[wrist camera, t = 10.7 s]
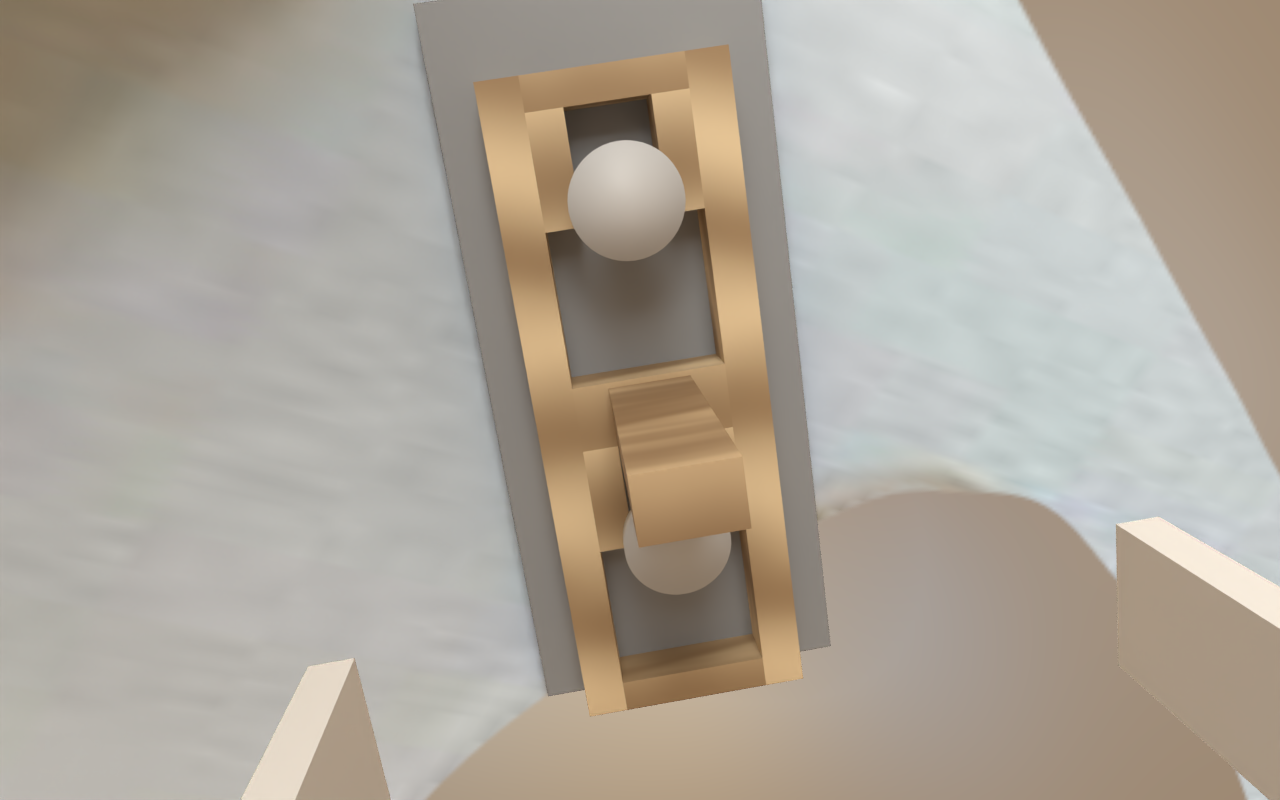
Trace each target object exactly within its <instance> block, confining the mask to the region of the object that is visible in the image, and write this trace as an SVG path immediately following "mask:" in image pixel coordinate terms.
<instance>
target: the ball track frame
mask: <svg viewBox="0 0 1280 800" xmlns="http://www.w3.org/2000/svg"><path fill="white" fill-rule="evenodd" d="M473 84H474V89H475V95H476V100H477V106H478V111H479V117H480V122H481V127H482V133H483V138H484V144H485V149H486V155H487V160H488V165H489V171H490V176H491V182H492V187H493V193H494V198H495V204H496V209H497V214H498V220H499V225H500V231H501V236H502V242H503V247H504V252H505V258H506V263H507V269H508V274H509V280H510V285H511V291H512V296H513V301H514V307H515V312H516V318H517V323H518V329H519V334H520V339H521V345H522V350H523V356H524V361H525V367H526V372H527V378H528V383H529V388H530V394H531V399H532V405H533V410H534V416H535V421H536V426H537V432H538V437H539V443H540V448H541V454H542V459H543V464H544V470H545V475H546V481H547V486H548V492H549V497H550V503H551V508H552V513H553V519H554V524H555V530H556V535H557V541H558V546H559V551H560V557H561V562H562V568H563V573H564V579H565V584H566V590H567V595H568V600H569V606H570V611H571V617H572V622H573V628H574V633H575V638H576V644H577V649H578V655H579V660H580V666H581V671H582V676H583V682H584V687H585V693H586V698H587V703H588V709H589V715H590V716H596V715H601V714H606V713H612V712H618V711H623V710H629V709H634V708H640V707H646V706H652V705H657V704H662V703H668V702H674V701H679V700H685V699H691V698H696V697H701V696H707V695H713V694H718V693H724V692H729V691H735V690H741V689H746V688H751V687H757V686H763V685H769V684H774V683H779V682H785V681H791V680H796V679H802V678H803V675H802V666H801V657H800V649H799V640H798V632H797V623H796V615H795V606H794V598H793V589H792V581H791V572H790V564H789V555H788V546H787V538H786V529H785V521H784V512H783V504H782V495H781V487H780V478H779V470H778V461H777V453H776V444H775V436H774V427H773V418H772V410H771V401H770V393H769V384H768V376H767V367H766V359H765V350H764V342H763V333H762V325H761V316H760V307H759V299H758V290H757V282H756V273H755V265H754V256H753V248H752V239H751V231H750V222H749V214H748V205H747V197H746V188H745V179H744V171H743V162H742V154H741V145H740V137H739V128H738V120H737V111H736V103H735V94H734V86H733V77H732V69H731V60H730V51H729V44H727V45H720V46H714V47H707V48H700V49H693V50H687V51H680V52H673V53H666V54H660V55H653V56H646V57H639V58H633V59H626V60H619V61H613V62H606V63H599V64H592V65H586V66H579V67H572V68H565V69H559V70H552V71H545V72H538V73H532V74H525V75H518V76H511V77H505V78H498V79H491V80H485V81H478V82H473ZM643 99H646V101H647V108H648V116H649V123H650V130H651V137H652V144H653V147H655V148H656V149H658V150H659V151H661V152H662V153H663V154H665V155H666V156H667V157H668V158H669V159H670V160H671V162H672V163H673V164H674V166H675V167H676V169H677V170H678V172H679V174H680V176H681V179H682V182H683V185H684V190H685V198H686V203H685V211H690V210H696V209H697V213H698V220H699V228H700V236H701V243H702V251H703V259H704V266H705V274H706V282H707V289H708V297H709V304H710V312H711V320H712V327H713V335H714V343H715V350H716V354H711V355H705V356H699V357H693V358H687V359H681V360H675V361H668V362H662V363H656V364H650V365H644V366H638V367H632V368H626V369H619V370H613V371H607V372H601V373H595V374H589V375H583V376H576V377H572V376H571V370H570V365H569V359H568V353H567V347H566V341H565V335H564V330H563V324H562V318H561V312H560V306H559V300H558V295H557V289H556V283H555V277H554V271H553V266H552V260H551V254H550V248H549V242H548V236H547V233H549V232H555V231H561V230H568V229H574V227H573V225H572V222H571V219H570V215H569V211H568V189H569V185H570V181H571V178H572V176H573V174H574V171H573V165H572V159H571V153H570V147H569V141H568V134H567V128H566V122H565V116H564V111H570V110H576V109H583V108H590V107H596V106H603V105H609V104H616V103H623V102H629V101H636V100H643ZM618 448H619V449H618ZM619 453H620V456H619ZM620 458H621V462H620ZM621 463H622V468H623V472H624V477H625V482H626V487H627V492H628V497H629V502H630V507H631V512H632V517H633V522H634V527H635V532H636V537H637V542H638V547H639V548H641V547H647V546H652V545H658V544H664V543H670V542H676V541H682V540H687V539H693V538H699V537H705V536H711V535H717V534H722V533H728V532H734V531H739V534H740V542H741V549H742V557H743V565H744V572H745V580H746V588H747V595H748V603H749V611H750V618H751V626H752V633H753V634H748V635H742V636H737V637H731V638H725V639H720V640H714V641H708V642H703V643H697V644H691V645H686V646H680V647H674V648H669V649H663V650H657V651H652V652H646V653H640V654H635V655H629V656H623V657H620V656H619V650H618V644H617V638H616V633H615V627H614V621H613V615H612V609H611V603H610V598H609V592H608V586H607V580H606V574H605V568H604V563H603V557H602V552H604V551H609V550H615V549H621V548H624V545H623V527H624V523H625V520H626V517H627V515H628V513H629V511H628V505H627V499H626V493H625V486H624V480H623V474H622V468H621Z"/></svg>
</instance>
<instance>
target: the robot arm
mask: <svg viewBox="0 0 1280 800" xmlns="http://www.w3.org/2000/svg"><path fill="white" fill-rule="evenodd" d="M1116 553H1117V614H1118V615H1117V616H1118V617H1117V620H1118V666H1120V667H1121V668H1122V669H1123V670H1124V671H1125V672H1126V673H1127V674H1128V675H1130V676H1131V677H1132V678H1133V679H1134V680H1135V681H1136V682H1138V683H1139V684H1140V685H1141V686H1142V687H1143V688H1144V689H1145V690H1146V691H1148V692H1149V693H1150V694H1151V695H1152V696H1153V697H1154V698H1155V699H1157V700H1158V701H1159V702H1160V703H1161V704H1162V705H1163V706H1164V707H1166V708H1167V709H1168V710H1169V711H1170V712H1171V713H1172V714H1173V715H1175V716H1176V717H1177V718H1178V719H1179V720H1180V721H1181V722H1182V723H1184V724H1185V725H1186V726H1187V727H1188V728H1189V729H1190V730H1192V731H1193V732H1194V733H1195V734H1196V735H1197V736H1198V737H1199V738H1201V739H1202V740H1203V741H1204V742H1205V743H1206V744H1207V745H1208V746H1209V747H1211V748H1212V749H1213V750H1214V751H1215V752H1216V753H1217V754H1219V755H1220V756H1221V757H1222V758H1223V759H1224V760H1225V761H1226V762H1227V763H1229V764H1230V765H1231V766H1232V767H1233V768H1234V769H1235V770H1236V771H1238V772H1239V773H1240V774H1241V775H1242V776H1243V777H1244V778H1245V779H1247V780H1248V781H1249V782H1250V783H1251V784H1252V785H1253V786H1254V787H1256V788H1257V789H1258V790H1259V791H1260V792H1261V793H1262V794H1263V795H1265V796H1266V797H1267V798H1268V799H1269V800H1280V587H1279V586H1277V585H1275V584H1274V583H1272V582H1270V581H1269V580H1267V579H1265V578H1263V577H1262V576H1260V575H1258V574H1256V573H1255V572H1253V571H1251V570H1250V569H1248V568H1246V567H1244V566H1243V565H1241V564H1239V563H1238V562H1236V561H1234V560H1232V559H1231V558H1229V557H1227V556H1225V555H1224V554H1222V553H1220V552H1219V551H1217V550H1215V549H1213V548H1212V547H1210V546H1208V545H1206V544H1205V543H1203V542H1201V541H1200V540H1198V539H1196V538H1194V537H1193V536H1191V535H1189V534H1188V533H1186V532H1184V531H1182V530H1181V529H1179V528H1177V527H1175V526H1174V525H1172V524H1170V523H1169V522H1167V521H1165V520H1163V519H1162V518H1160V517H1155V518H1149V519H1143V520H1138V521H1132V522H1126V523H1121V524H1116ZM241 800H390V795H389V791H388V787H387V783H386V779H385V776H384V772H383V768H382V764H381V760H380V756H379V752H378V748H377V744H376V740H375V736H374V732H373V729H372V725H371V721H370V717H369V713H368V709H367V705H366V701H365V697H364V693H363V689H362V685H361V682H360V678H359V674H358V670H357V666H356V662H355V658H353V659H347V660H341V661H336V662H330V663H324V664H318V665H313V666H308V668H307V670H306V672H305V674H304V676H303V678H302V680H301V682H300V684H299V686H298V688H297V690H296V691H295V693H294V695H293V697H292V699H291V701H290V703H289V705H288V707H287V709H286V711H285V713H284V715H283V717H282V719H281V721H280V723H279V725H278V727H277V729H276V731H275V733H274V735H273V737H272V739H271V741H270V743H269V745H268V747H267V749H266V751H265V753H264V755H263V757H262V759H261V761H260V763H259V765H258V767H257V769H256V771H255V772H254V774H253V776H252V778H251V780H250V782H249V784H248V786H247V788H246V790H245V792H244V794H243V796H242V798H241Z"/></svg>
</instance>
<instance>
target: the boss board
mask: <svg viewBox="0 0 1280 800" xmlns="http://www.w3.org/2000/svg"><path fill="white" fill-rule="evenodd" d="M413 6H414V11H415V16H416V21H417V26H418V31H419V36H420V42H421V47H422V52H423V57H424V62H425V67H426V72H427V77H428V83H429V88H430V93H431V98H432V103H433V108H434V113H435V118H436V124H437V129H438V134H439V139H440V144H441V149H442V154H443V159H444V164H445V170H446V175H447V180H448V185H449V190H450V195H451V200H452V205H453V211H454V216H455V221H456V226H457V231H458V236H459V241H460V246H461V252H462V257H463V262H464V267H465V272H466V277H467V282H468V287H469V293H470V298H471V303H472V308H473V313H474V318H475V323H476V328H477V333H478V339H479V344H480V349H481V354H482V359H483V364H484V369H485V374H486V380H487V385H488V390H489V395H490V400H491V405H492V410H493V415H494V421H495V426H496V431H497V436H498V441H499V446H500V451H501V456H502V462H503V467H504V472H505V477H506V482H507V487H508V492H509V497H510V502H511V508H512V513H513V518H514V523H515V528H516V533H517V538H518V543H519V549H520V554H521V559H522V564H523V569H524V574H525V579H526V584H527V590H528V595H529V600H530V605H531V610H532V615H533V620H534V625H535V630H536V636H537V641H538V646H539V651H540V656H541V661H542V666H543V671H544V677H545V682H546V687H547V692H548V696H552V695H558V694H564V693H569V692H575V691H581V690H585V687H584V682H583V676H582V671H581V666H580V660H579V655H578V649H577V644H576V638H575V633H574V628H573V622H572V617H571V611H570V606H569V600H568V595H567V590H566V584H565V579H564V573H563V568H562V562H561V557H560V551H559V546H558V541H557V535H556V530H555V524H554V519H553V513H552V508H551V503H550V497H549V492H548V486H547V481H546V475H545V470H544V464H543V459H542V454H541V448H540V443H539V437H538V432H537V426H536V421H535V416H534V410H533V405H532V399H531V394H530V388H529V383H528V378H527V372H526V367H525V361H524V356H523V350H522V345H521V339H520V334H519V329H518V323H517V318H516V312H515V307H514V301H513V296H512V291H511V285H510V280H509V274H508V269H507V263H506V258H505V252H504V247H503V242H502V236H501V231H500V225H499V220H498V214H497V209H496V204H495V198H494V193H493V187H492V182H491V176H490V171H489V165H488V160H487V155H486V149H485V144H484V138H483V133H482V127H481V122H480V117H479V111H478V106H477V100H476V95H475V89H474V84H473V82H478V81H485V80H491V79H498V78H505V77H511V76H518V75H525V74H532V73H538V72H545V71H552V70H559V69H565V68H572V67H579V66H586V65H592V64H599V63H606V62H613V61H619V60H626V59H633V58H639V57H646V56H653V55H660V54H666V53H673V52H680V51H687V50H693V49H700V48H707V47H714V46H720V45H727V44H729V51H730V60H731V69H732V77H733V86H734V94H735V103H736V111H737V120H738V128H739V137H740V145H741V154H742V162H743V171H744V179H745V188H746V197H747V205H748V214H749V222H750V231H751V239H752V248H753V256H754V265H755V273H756V282H757V290H758V299H759V307H760V316H761V325H762V333H763V342H764V350H765V359H766V367H767V376H768V384H769V393H770V401H771V410H772V418H773V427H774V436H775V444H776V453H777V461H778V470H779V478H780V487H781V495H782V504H783V512H784V521H785V529H786V538H787V546H788V555H789V564H790V572H791V581H792V589H793V598H794V606H795V615H796V623H797V632H798V640H799V649H800V651H806V650H811V649H816V648H822V647H828V646H831V644H830V636H829V626H828V617H827V608H826V598H825V589H824V580H823V570H822V561H821V551H820V542H819V533H818V523H817V514H816V505H815V496H814V486H813V477H812V468H811V458H810V449H809V440H808V430H807V421H806V412H805V403H804V393H803V384H802V375H801V365H800V356H799V347H798V337H797V328H796V319H795V310H794V300H793V291H792V282H791V272H790V263H789V254H788V244H787V235H786V226H785V217H784V207H783V198H782V189H781V179H780V170H779V161H778V151H777V142H776V133H775V124H774V114H773V105H772V96H771V86H770V77H769V68H768V58H767V49H766V40H765V31H764V21H763V12H762V3H761V0H438V1H431V2H424V3H417V4H413ZM564 116H565V122H566V128H567V134H568V141H569V147H570V153H571V159H572V165H573V171H574V174H573V176H572V178H571V181H570V185H569V189H568V211H569V215H570V219H571V222H572V225H573V227H574V229H568V230H561V231H555V232H549V233H547V236H548V242H549V248H550V254H551V260H552V266H553V271H554V277H555V283H556V289H557V295H558V300H559V306H560V312H561V318H562V324H563V330H564V335H565V341H566V347H567V353H568V359H569V365H570V370H571V376H572V377H576V376H583V375H589V374H595V373H601V372H607V371H613V370H619V369H626V368H632V367H638V366H644V365H650V364H656V363H662V362H668V361H675V360H681V359H687V358H693V357H699V356H705V355H711V354H716V350H715V343H714V335H713V327H712V320H711V312H710V304H709V297H708V289H707V282H706V274H705V266H704V259H703V251H702V243H701V236H700V228H699V220H698V213H697V209H696V210H690V211H685V203H686V198H685V190H684V185H683V182H682V179H681V176H680V174H679V172H678V170H677V169H676V167H675V166H674V164H673V163H672V162H671V160H670V159H669V158H668V157H667V156H666V155H665V154H663V153H662V152H661V151H659V150H658V149H656V148H655V147H653V144H652V137H651V130H650V123H649V116H648V108H647V101H646V99H643V100H636V101H629V102H623V103H616V104H609V105H603V106H596V107H590V108H583V109H576V110H570V111H564ZM618 449H619V448H618ZM619 456H620V453H619ZM620 462H621V458H620ZM621 468H622V463H621ZM622 474H623V480H624V486H625V493H626V499H627V505H628V511H629V513H628V515H627V517H626V520H625V523H624V527H623V545H624V548H621V549H615V550H609V551H604V552H602V557H603V563H604V568H605V574H606V580H607V586H608V592H609V598H610V603H611V609H612V615H613V621H614V627H615V633H616V638H617V644H618V650H619V656H620V657H623V656H629V655H635V654H640V653H646V652H652V651H657V650H663V649H669V648H674V647H680V646H686V645H691V644H697V643H703V642H708V641H714V640H720V639H725V638H731V637H737V636H742V635H748V634H753V633H752V626H751V618H750V611H749V603H748V595H747V588H746V580H745V572H744V565H743V557H742V549H741V542H740V534H739V531H734V532H728V533H722V534H717V535H711V536H705V537H699V538H693V539H687V540H682V541H676V542H670V543H664V544H658V545H652V546H647V547H641V548H639V547H638V542H637V537H636V532H635V527H634V522H633V517H632V512H631V507H630V502H629V497H628V492H627V487H626V482H625V477H624V472H623V468H622Z"/></svg>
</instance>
